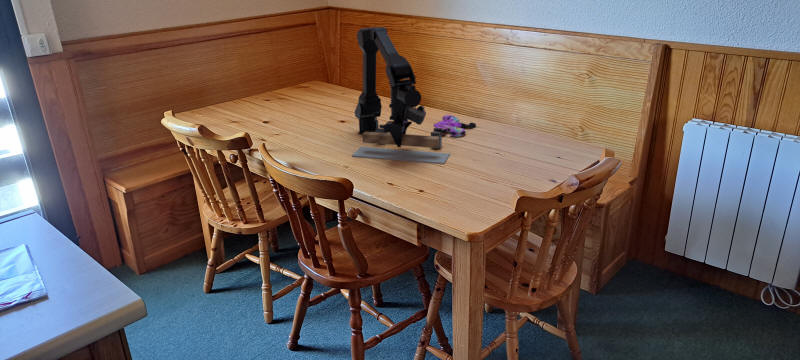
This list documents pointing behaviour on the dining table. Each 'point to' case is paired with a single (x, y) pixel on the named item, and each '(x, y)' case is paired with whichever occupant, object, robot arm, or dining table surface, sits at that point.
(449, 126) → the decorative sculpture
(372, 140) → the rail
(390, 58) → the robot arm
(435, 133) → the grey block
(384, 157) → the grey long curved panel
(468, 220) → the dining table surface
